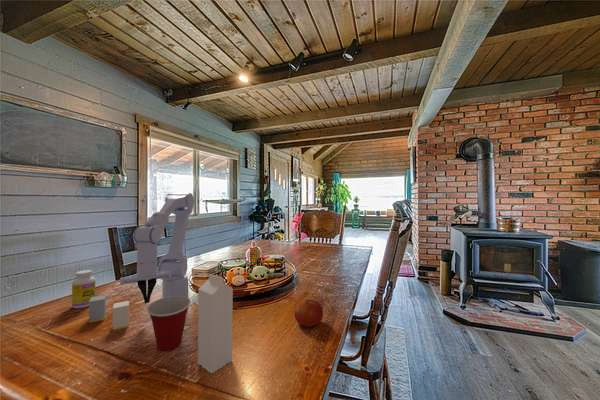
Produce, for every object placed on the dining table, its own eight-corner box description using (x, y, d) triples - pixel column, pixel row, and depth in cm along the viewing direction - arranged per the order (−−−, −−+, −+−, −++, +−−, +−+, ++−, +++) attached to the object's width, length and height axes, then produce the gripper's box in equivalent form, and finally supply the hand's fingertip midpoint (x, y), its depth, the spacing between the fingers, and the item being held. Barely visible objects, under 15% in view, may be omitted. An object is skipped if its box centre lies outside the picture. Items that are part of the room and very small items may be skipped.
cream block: (129, 321, 81) (129, 300, 80) (128, 327, 77) (128, 305, 77) (114, 325, 78) (114, 303, 78) (112, 330, 75) (112, 308, 75)
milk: (218, 352, 65) (219, 270, 65) (232, 361, 61) (233, 274, 61) (197, 364, 60) (198, 276, 60) (211, 375, 57) (212, 281, 57)
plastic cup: (142, 362, 60) (143, 315, 60) (150, 339, 70) (150, 298, 70) (190, 352, 65) (190, 307, 65) (190, 331, 75) (191, 293, 75)
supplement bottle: (81, 309, 88) (81, 274, 88) (67, 308, 90) (67, 273, 90) (99, 302, 95) (99, 269, 95) (86, 300, 96) (86, 268, 96)
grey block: (106, 314, 85) (106, 294, 85) (104, 319, 82) (104, 299, 82) (91, 317, 83) (91, 297, 83) (89, 322, 80) (89, 301, 79)
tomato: (290, 327, 78) (290, 302, 78) (300, 314, 86) (300, 292, 86) (317, 333, 74) (317, 307, 74) (325, 319, 83) (325, 296, 83)
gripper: (119, 267, 74) (119, 311, 74) (172, 261, 82) (172, 301, 82) (121, 262, 80) (120, 303, 80) (170, 257, 88) (170, 294, 88)
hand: (146, 301), depth 81 cm, fingers closed
